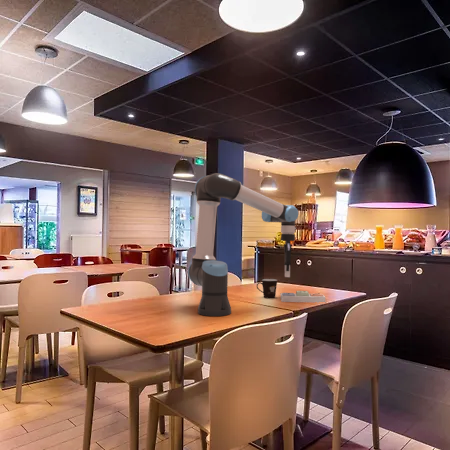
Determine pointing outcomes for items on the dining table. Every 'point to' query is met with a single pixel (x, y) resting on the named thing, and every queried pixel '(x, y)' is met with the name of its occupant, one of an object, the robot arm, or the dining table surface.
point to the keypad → (302, 298)
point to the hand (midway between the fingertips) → (287, 276)
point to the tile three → (316, 294)
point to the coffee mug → (268, 288)
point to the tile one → (288, 294)
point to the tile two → (302, 293)
